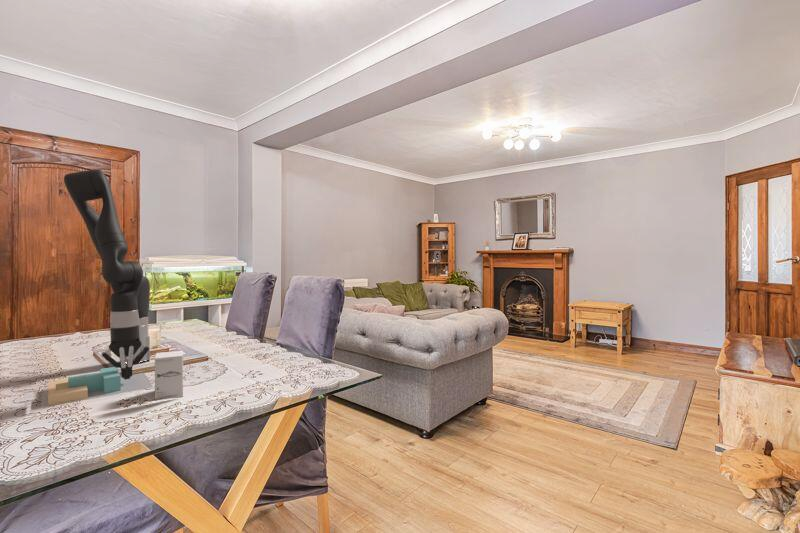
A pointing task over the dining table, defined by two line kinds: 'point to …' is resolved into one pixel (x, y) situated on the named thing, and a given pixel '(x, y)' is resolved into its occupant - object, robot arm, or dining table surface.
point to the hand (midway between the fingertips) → (126, 378)
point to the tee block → (98, 380)
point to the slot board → (124, 388)
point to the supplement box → (169, 375)
